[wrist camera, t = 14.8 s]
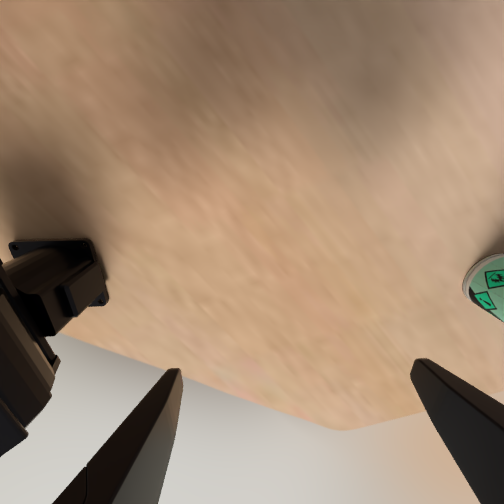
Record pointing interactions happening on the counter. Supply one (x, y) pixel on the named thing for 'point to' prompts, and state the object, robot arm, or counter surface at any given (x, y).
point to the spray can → (487, 285)
